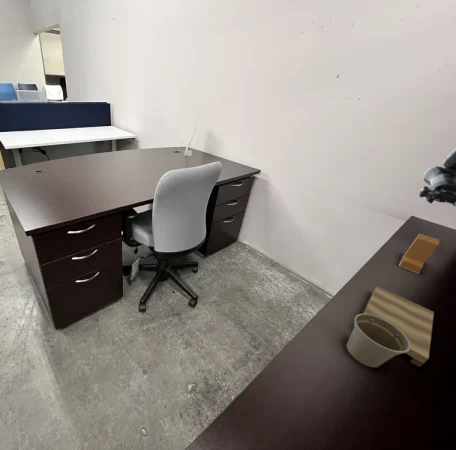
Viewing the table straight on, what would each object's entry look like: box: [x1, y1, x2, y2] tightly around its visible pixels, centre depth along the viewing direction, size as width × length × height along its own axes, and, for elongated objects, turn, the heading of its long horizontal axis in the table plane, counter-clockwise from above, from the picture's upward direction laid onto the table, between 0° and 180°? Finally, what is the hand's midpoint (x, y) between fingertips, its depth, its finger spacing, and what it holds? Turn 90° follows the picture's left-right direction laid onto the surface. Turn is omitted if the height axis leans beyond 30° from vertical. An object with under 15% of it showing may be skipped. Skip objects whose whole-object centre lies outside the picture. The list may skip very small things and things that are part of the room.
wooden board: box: [362, 286, 435, 368], centre depth 62 cm, size 20×12×4 cm, turn 131°
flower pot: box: [346, 313, 411, 368], centre depth 53 cm, size 9×9×9 cm
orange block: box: [398, 233, 440, 274], centre depth 85 cm, size 10×5×11 cm, turn 130°
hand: (448, 205), depth 83 cm, fingers open, 8 cm apart
